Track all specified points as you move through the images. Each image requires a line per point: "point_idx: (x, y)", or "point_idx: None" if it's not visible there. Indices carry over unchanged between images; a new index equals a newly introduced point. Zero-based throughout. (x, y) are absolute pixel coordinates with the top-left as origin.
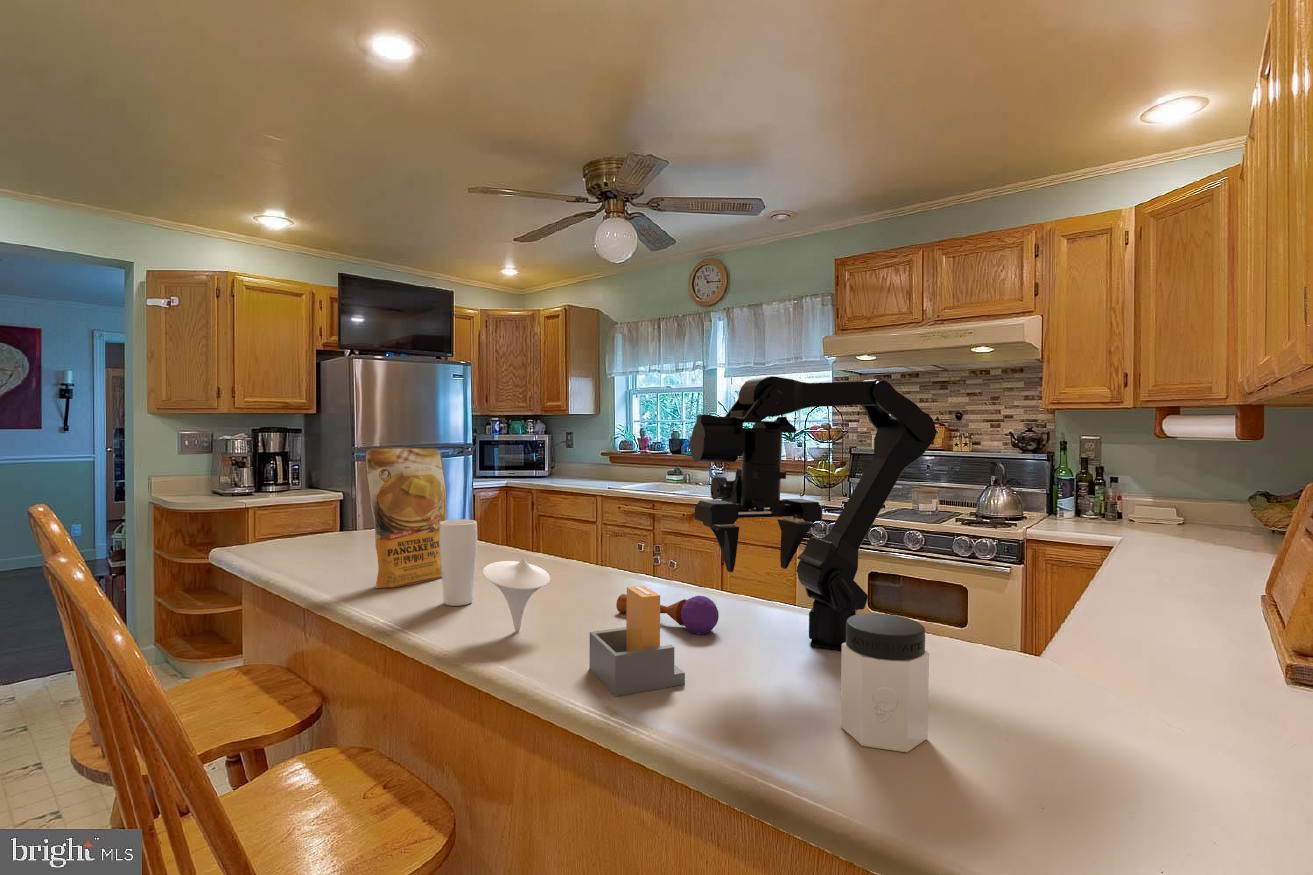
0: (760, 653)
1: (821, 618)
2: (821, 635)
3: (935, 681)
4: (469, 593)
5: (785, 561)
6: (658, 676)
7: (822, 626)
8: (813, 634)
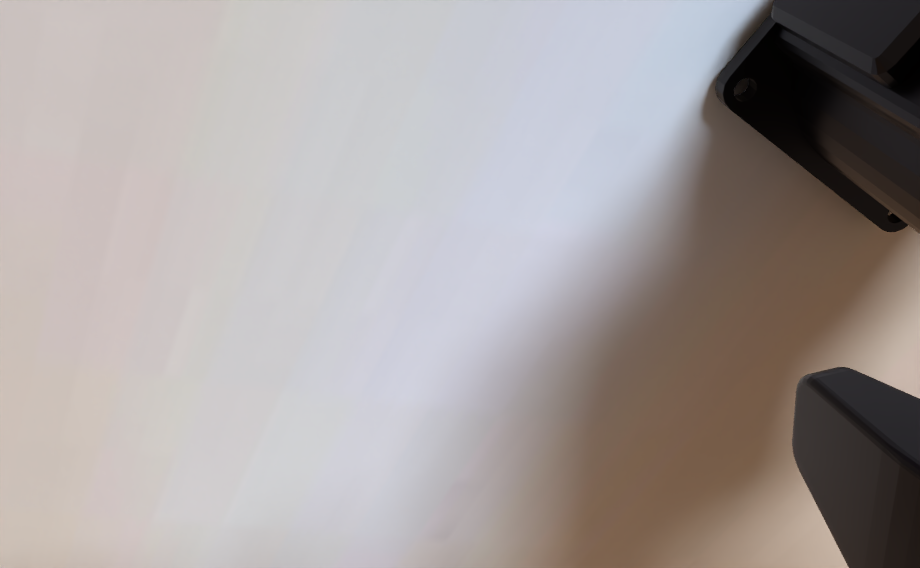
0: (325, 122)
1: (887, 162)
2: (817, 116)
3: None
4: None
5: (854, 555)
6: None
7: (853, 151)
8: (797, 52)
